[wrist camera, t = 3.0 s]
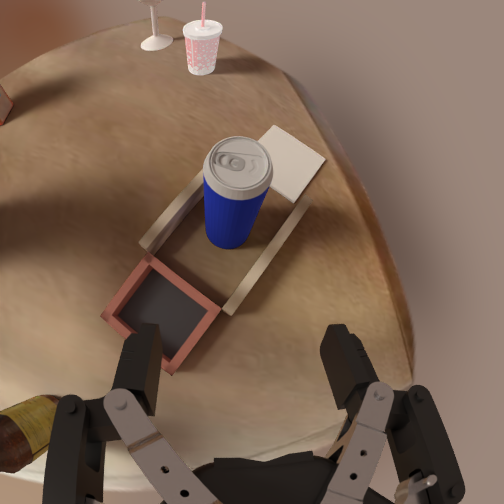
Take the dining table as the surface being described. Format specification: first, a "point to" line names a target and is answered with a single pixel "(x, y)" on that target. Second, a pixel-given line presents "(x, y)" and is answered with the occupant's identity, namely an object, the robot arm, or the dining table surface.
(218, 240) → the beverage can
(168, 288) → the box
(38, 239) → the dining table surface
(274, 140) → the mat
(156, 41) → the champagne flute
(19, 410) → the sauce bottle
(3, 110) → the cracker box
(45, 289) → the dining table surface
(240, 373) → the dining table surface
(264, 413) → the dining table surface
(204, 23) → the beverage cup
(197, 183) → the channel
